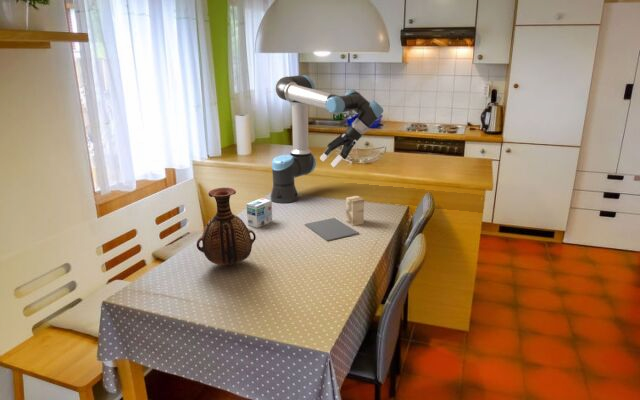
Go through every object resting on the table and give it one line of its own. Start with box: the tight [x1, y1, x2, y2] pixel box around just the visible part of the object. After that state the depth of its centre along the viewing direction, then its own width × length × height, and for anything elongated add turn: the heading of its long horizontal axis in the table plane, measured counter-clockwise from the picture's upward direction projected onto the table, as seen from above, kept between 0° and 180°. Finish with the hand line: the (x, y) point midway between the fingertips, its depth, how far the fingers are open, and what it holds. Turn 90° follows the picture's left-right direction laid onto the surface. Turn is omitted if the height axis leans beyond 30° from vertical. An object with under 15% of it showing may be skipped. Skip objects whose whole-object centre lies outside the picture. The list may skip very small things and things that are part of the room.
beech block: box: [345, 195, 365, 226], centre depth 220 cm, size 6×6×12 cm
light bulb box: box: [246, 197, 273, 229], centre depth 221 cm, size 11×7×11 cm, turn 143°
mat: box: [304, 217, 360, 242], centre depth 213 cm, size 22×16×1 cm
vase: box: [196, 187, 257, 267], centre depth 176 cm, size 21×18×30 cm
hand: (326, 163), depth 226 cm, fingers open, 13 cm apart
